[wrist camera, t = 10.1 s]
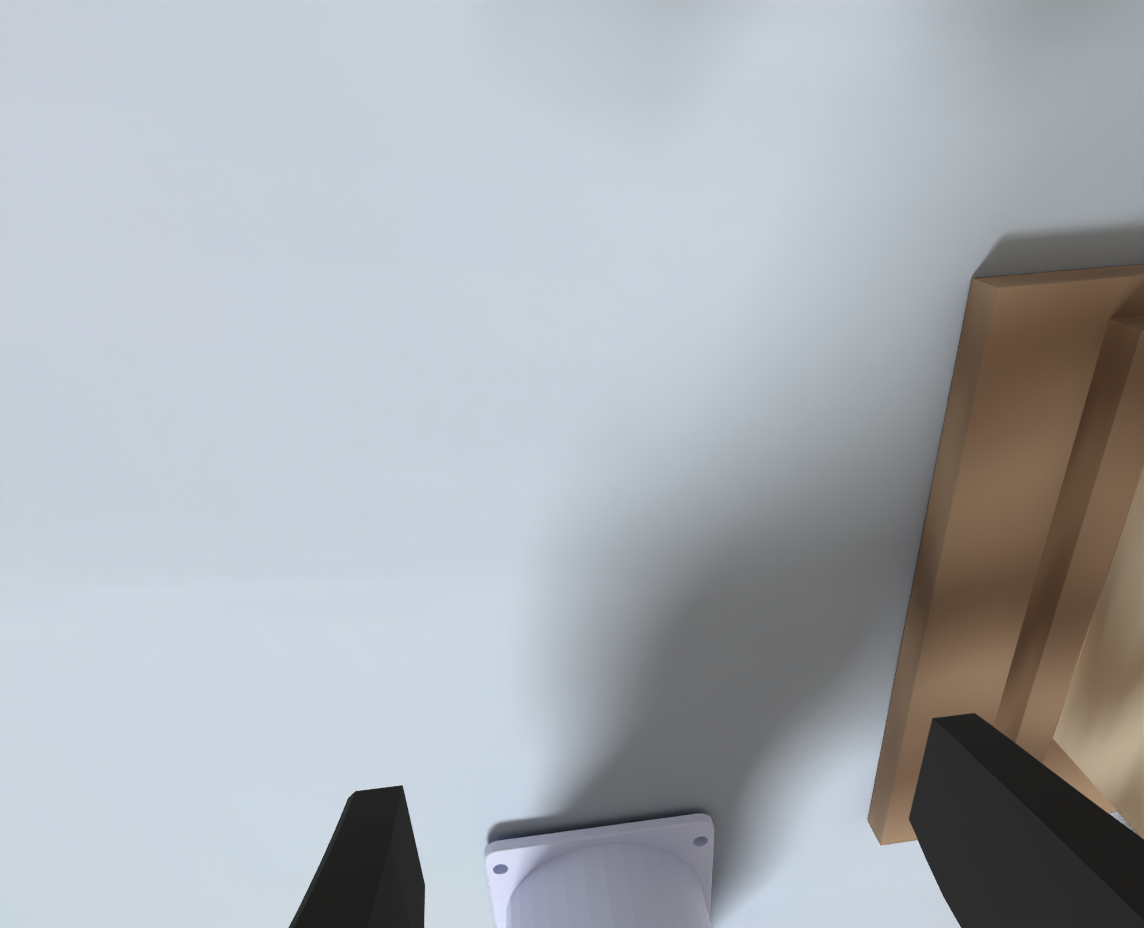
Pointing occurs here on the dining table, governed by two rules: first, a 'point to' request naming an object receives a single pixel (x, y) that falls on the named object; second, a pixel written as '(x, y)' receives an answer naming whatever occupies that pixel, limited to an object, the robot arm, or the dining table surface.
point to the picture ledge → (1019, 518)
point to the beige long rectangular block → (1113, 682)
